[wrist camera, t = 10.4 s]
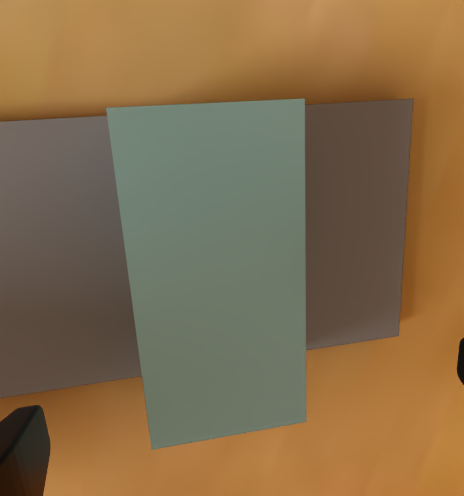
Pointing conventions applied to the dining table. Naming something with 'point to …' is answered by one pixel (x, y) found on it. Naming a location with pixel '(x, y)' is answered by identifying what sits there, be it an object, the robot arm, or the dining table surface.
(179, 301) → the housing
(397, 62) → the dining table surface
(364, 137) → the plate
